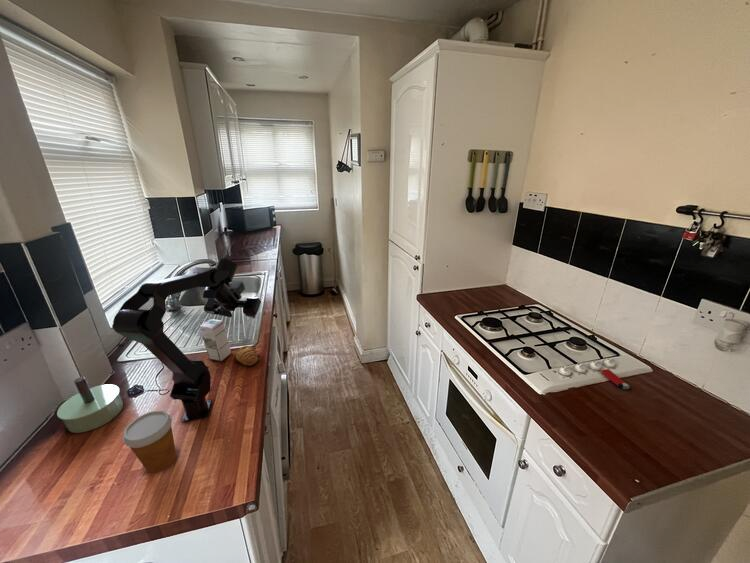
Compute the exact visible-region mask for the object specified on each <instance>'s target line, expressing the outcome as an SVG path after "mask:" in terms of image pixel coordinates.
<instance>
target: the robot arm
mask: <svg viewBox="0 0 750 563" xmlns="http://www.w3.org/2000/svg"><path fill="white" fill-rule="evenodd" d="M238 268H239V265H238V264H237V263H236V262H234V261H232V260H230V259H227V257H220V258H219V260H218V263H217V265H216V267H200V266H196V267H194V268H191V269H190V270H188V271H187V273H185V274H181V275H177V276H172V277H168V278H164V279H159V280H154V281H147V282H145V283H142V284H141V285H140V287H139V288H138V290H137V292H135V293H134V294H133V295H132V296H130V297H129V298H128V299H127V300H125V301H124V302H123V304H122V305H121V307H120V308H119V310H118V311H117V313H116V314H115V316H114V317H113V320H112V325H111V326H112V327H111V328H112V329H113V331H114V332H116V333H117V334H119V335H120V336H122V337H124V338H126V339H128V340H131V341H133V342H137V343H139V344H141V345H143V347H145V349H147V350H148V351H149V352H150V353H151V354H152V355H154V357H155V358H157V359H158V360H159V361H160V363H162V365H164V366H165V367H166V368H167V369H168V370H169V371H170V372H171V373H172V378H171V379H172V382H173V385H172V388H171V390H170V394H169V397H170V398H171V399H172V400H178V401H179V400H180V401H181V404H182V407H183V410H184V413H183V416H182V419H181V421H182V422H183V423H185V422H190V421H194V420H199V419H204V418H207V417H208V415H209V413H210V407H211V404H212V400H211V399H209V400H207V399H206V396H207V395H208V394H209V393H210V392H211V385H212V384H211V383H212V382H211V377H212V376H211V372H210V370H209V368H210V367H209V366H207V365H206V363H205V362H204V361H203V360H201V359H200V360H199V359H189V358H188V357H187V356H186V355H185V354H184V352H183V351H182V350H181V349H180V348H179V347H178V345H176V344H175V343H174V342H173V340H172V339H171V338H170V337H169V336H168V335H167V334H166V333H165V331H164V328H165V327H164V326H165V324H164V321H163V318H164V317H165V314H166V312H167V304H166V300H167V298H168V297H169V296H173V295H176V294H179V293H183V292H186V291H189V290H193V289H196V288H204V289H203V293H202V298H203V299H206V301H205V304H204V306H203V311H204V312H205V313H206V314H209V315H210V314H211V315H213V316H214V315H215V316H221V317H227V318H233V314H232V312H236V309H237V308H241V309H242V313H243V314H244V315H245V317H248V318H250V319H256V316H257V314H258V311H259V309H260V306H261V304H262V301H261V299H260V298H259V297H258V296H248V297H246V299H245V300H241V299H242V297H243V296H242V295H241V294H242V293H243V292H244V291H245V290H246V287H245V284H244V281H243V280H233V279H234V277H235V274H236V272H237V270H238ZM151 299H152V300H153V305H152V307H151V309H141V308H142V307H143V306H144V305H145V304H147V303H148V302H149V301H150V300H151Z"/></svg>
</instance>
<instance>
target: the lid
mask: <svg viewBox="0 0 750 563" xmlns="http://www.w3.org/2000/svg"><path fill="white" fill-rule="evenodd" d="M73 383H74V385H75V388H76V389H77V392H78V393H76V394H74V395H72V396H71V397H70V398H68V399H67V400H65V401H64V402H63V403H62V404H61V405H60V406H59V407H58V409H57V412H56V416H57V418H58V419H60V420H66V421H70V420H77V419H81V418H84V417H87V416H90V415H92V414H95V413H97V412H99V411H101V410H102V409H104V408H106V407H107V406H109V405H110V404H111V403H112V402H113V401H114V400H115V399H116V398H117V397H118V395H119V394H120V393H121V389H120V387H119V386H117V385H116V384H112V383H111V384H100V385H96V386H92V387H90V385H89V383H88V380H87V378H86V377H85V376H80V377H77V378H76V379H74V380H73Z"/></svg>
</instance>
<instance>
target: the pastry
mask: <svg viewBox="0 0 750 563" xmlns="http://www.w3.org/2000/svg"><path fill="white" fill-rule="evenodd" d="M258 356H259V355H258V352H257V350H255V348H254V347H252V346H249V345H244V346H241V347H240V348H239V349H238V350H237V351H236V353H235V358H236V360H237V362H239V363H241V364H242V365H244V366H252V365H254V364H256V363H257V362H258V360H259V357H258Z"/></svg>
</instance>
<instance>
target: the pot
mask: <svg viewBox="0 0 750 563" xmlns="http://www.w3.org/2000/svg"><path fill="white" fill-rule="evenodd" d="M123 402H124V401H123V399H122V396H121V394H120V393H119V395H118V397H117V398H116V399H115V400H114V401H113V402H112V403H111V404H110V405H109V406H107V407H106V408H104V409H102V410H101V411H99V412H97V413H95V414H92V415H90V416H87V417H84V418H81V419H77V420H70V421H66V420H62V422H63V424H64V426H65V428H66V429H67V430H68V431H69V432H70V433H75V434H78V433H79V434H80V433H85V432H90V431H92V430H95V429H97V428H100V427H102V426H104V425H106V424H107V423H108V422H109V423H110V421H112V420H113V419H115V418H116V417H117V416H118V415H119V414H120V413H121V411H122V410H123V408H124V403H123Z"/></svg>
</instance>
